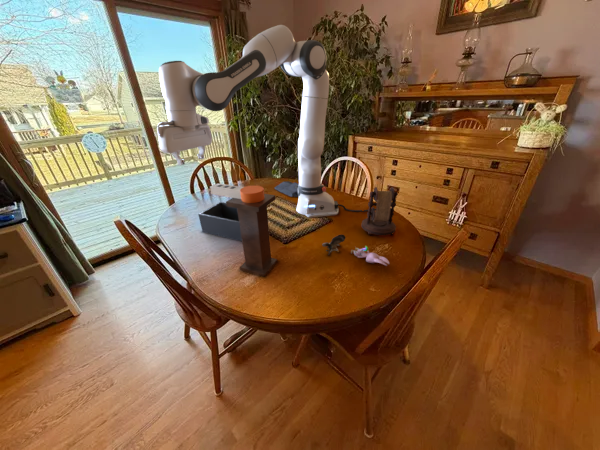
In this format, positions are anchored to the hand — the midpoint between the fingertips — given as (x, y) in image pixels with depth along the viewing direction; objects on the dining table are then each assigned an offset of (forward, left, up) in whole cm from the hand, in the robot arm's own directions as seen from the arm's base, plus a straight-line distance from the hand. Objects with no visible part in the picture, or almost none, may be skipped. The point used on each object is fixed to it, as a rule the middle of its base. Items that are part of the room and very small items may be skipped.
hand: (191, 161), depth 85 cm
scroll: (-74, -7, -33) cm, 81 cm away
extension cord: (-20, +16, -7) cm, 27 cm away
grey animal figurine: (-52, +9, -33) cm, 62 cm away
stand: (-24, +18, -33) cm, 45 cm away
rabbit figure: (-64, +16, -33) cm, 74 cm away
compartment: (-8, -9, -33) cm, 35 cm away
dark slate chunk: (-34, -59, -33) cm, 76 cm away
